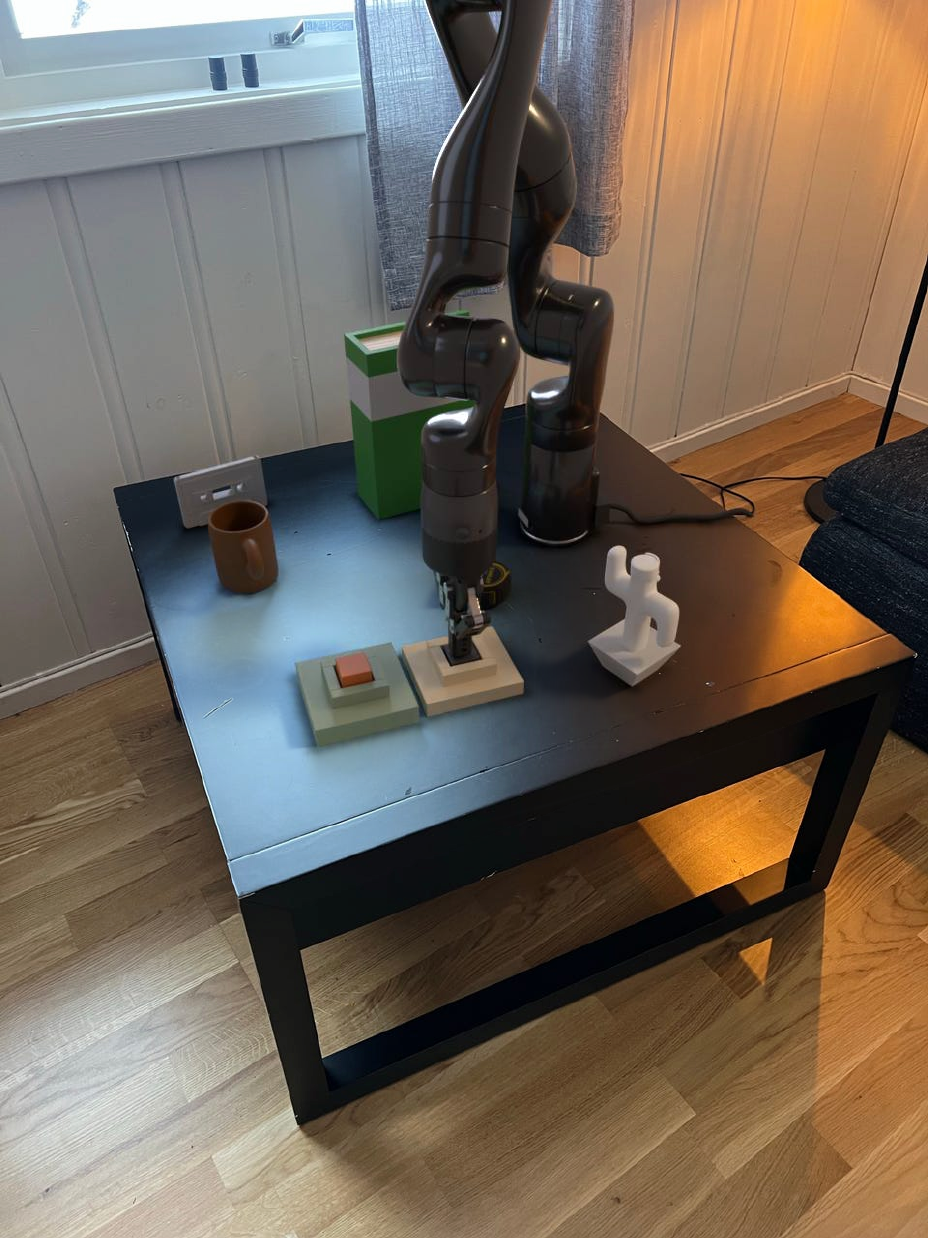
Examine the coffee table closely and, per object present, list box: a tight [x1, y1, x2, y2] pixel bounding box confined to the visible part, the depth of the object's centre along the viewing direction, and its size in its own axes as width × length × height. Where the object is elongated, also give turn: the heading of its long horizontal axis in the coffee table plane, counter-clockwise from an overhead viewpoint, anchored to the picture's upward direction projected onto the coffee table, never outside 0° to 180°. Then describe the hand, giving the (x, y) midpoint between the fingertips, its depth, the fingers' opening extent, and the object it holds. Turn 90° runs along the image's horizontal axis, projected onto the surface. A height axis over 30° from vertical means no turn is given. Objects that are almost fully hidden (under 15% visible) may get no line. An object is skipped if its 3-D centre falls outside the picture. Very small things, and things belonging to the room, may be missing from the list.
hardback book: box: [343, 309, 476, 521], centre depth 127 cm, size 18×7×24 cm, turn 117°
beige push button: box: [400, 625, 525, 717], centre depth 103 cm, size 11×10×4 cm
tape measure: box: [480, 560, 513, 608], centre depth 114 cm, size 7×7×4 cm
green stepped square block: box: [294, 641, 420, 748], centre depth 100 cm, size 11×11×4 cm
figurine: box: [587, 545, 682, 687], centre depth 101 cm, size 7×9×15 cm
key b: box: [335, 652, 372, 688], centre depth 99 cm, size 3×3×2 cm
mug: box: [207, 500, 279, 595], centre depth 114 cm, size 12×8×9 cm, turn 24°
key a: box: [443, 644, 480, 667], centre depth 103 cm, size 3×3×2 cm
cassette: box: [173, 455, 268, 529], centre depth 128 cm, size 12×2×8 cm, turn 120°
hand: (459, 652), depth 102 cm, fingers closed
